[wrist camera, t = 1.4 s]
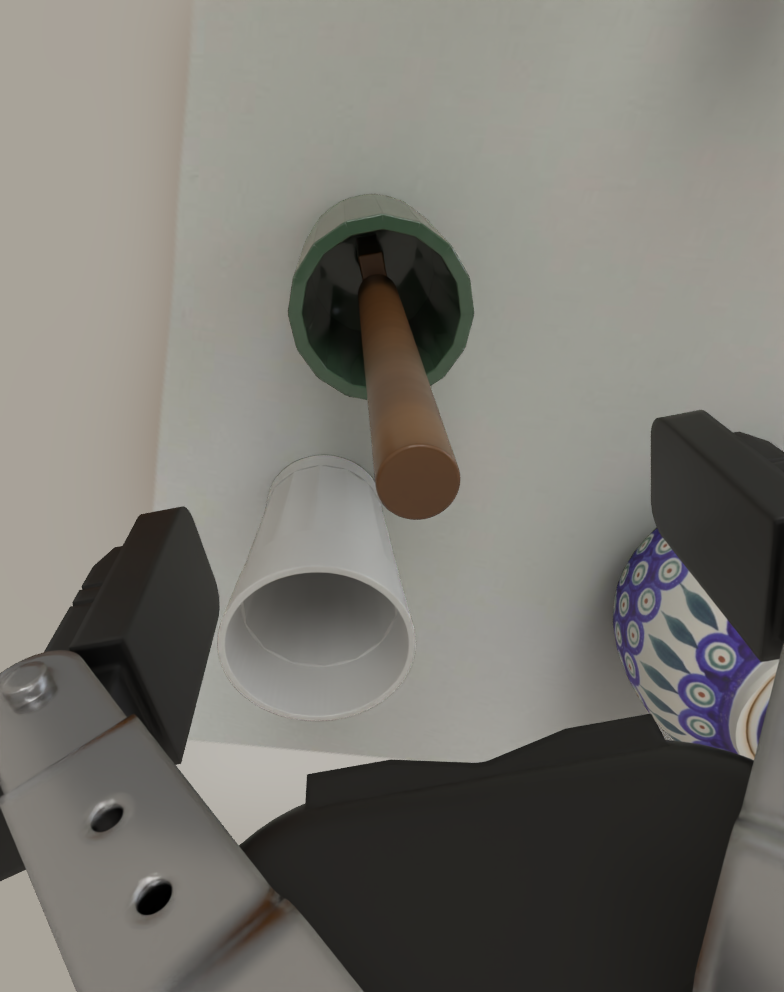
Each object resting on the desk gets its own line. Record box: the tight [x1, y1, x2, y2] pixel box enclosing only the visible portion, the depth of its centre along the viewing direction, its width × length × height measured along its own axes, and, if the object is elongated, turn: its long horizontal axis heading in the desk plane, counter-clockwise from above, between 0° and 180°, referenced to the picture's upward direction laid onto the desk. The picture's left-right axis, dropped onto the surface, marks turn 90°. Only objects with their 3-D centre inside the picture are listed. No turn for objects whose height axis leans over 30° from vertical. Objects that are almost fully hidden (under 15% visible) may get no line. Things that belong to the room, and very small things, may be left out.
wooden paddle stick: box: [356, 235, 460, 520], centre depth 23 cm, size 3×2×22 cm, turn 10°
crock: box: [288, 194, 474, 400], centre depth 29 cm, size 7×7×9 cm
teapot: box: [613, 528, 779, 760], centre depth 36 cm, size 25×15×15 cm, turn 173°
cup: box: [217, 455, 416, 721], centre depth 33 cm, size 8×8×12 cm
